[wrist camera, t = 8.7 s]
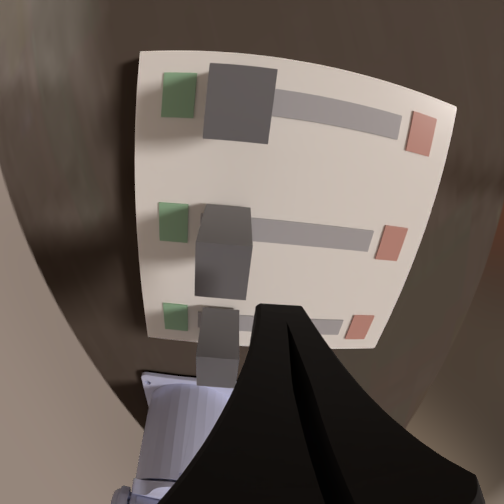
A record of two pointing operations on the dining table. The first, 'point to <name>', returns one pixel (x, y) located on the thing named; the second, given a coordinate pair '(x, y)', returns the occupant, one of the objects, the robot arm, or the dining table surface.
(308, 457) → the robot arm
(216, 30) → the dining table surface
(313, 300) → the breaker board
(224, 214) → the block
